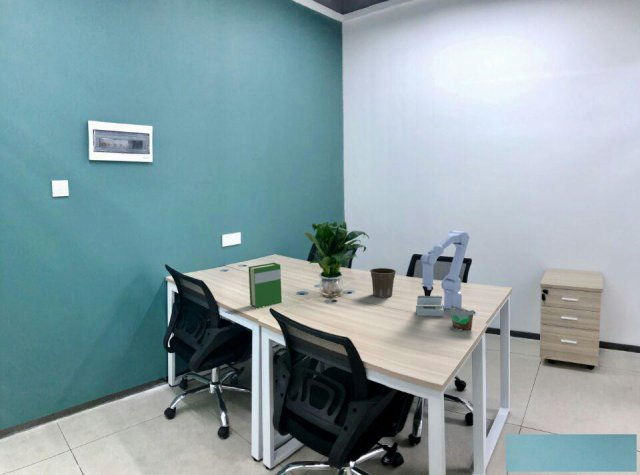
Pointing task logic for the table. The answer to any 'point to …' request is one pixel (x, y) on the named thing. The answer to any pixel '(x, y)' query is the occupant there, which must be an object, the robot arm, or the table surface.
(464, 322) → the food container
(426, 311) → the grey slotted block
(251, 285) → the hardback book
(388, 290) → the plant pot
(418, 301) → the cover
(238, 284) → the table surface
